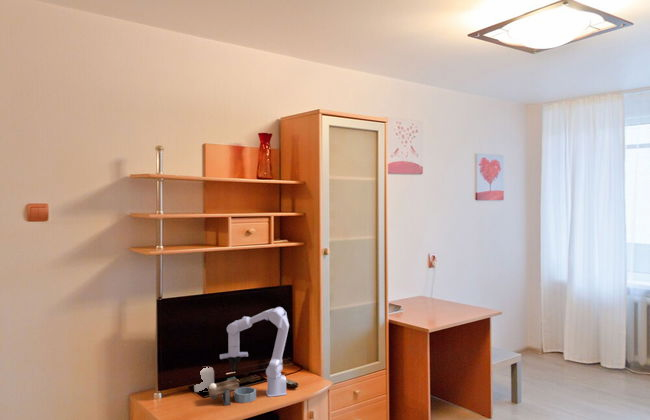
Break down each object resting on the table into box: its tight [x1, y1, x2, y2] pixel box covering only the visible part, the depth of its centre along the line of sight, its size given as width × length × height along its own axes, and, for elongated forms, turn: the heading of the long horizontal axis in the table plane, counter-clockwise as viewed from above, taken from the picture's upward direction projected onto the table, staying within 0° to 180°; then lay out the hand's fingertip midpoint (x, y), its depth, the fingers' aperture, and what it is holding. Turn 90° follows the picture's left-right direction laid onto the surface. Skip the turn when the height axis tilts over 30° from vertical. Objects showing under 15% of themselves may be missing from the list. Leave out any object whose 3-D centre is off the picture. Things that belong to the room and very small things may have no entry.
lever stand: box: [221, 389, 232, 406], centre depth 252 cm, size 3×12×8 cm, turn 18°
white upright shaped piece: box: [193, 366, 215, 393], centre depth 266 cm, size 10×4×12 cm, turn 104°
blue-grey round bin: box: [233, 386, 257, 404], centre depth 255 cm, size 11×11×4 cm
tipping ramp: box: [207, 376, 240, 400], centre depth 255 cm, size 15×15×4 cm
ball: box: [209, 382, 217, 390], centre depth 250 cm, size 4×4×4 cm
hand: (234, 371), depth 267 cm, fingers closed
